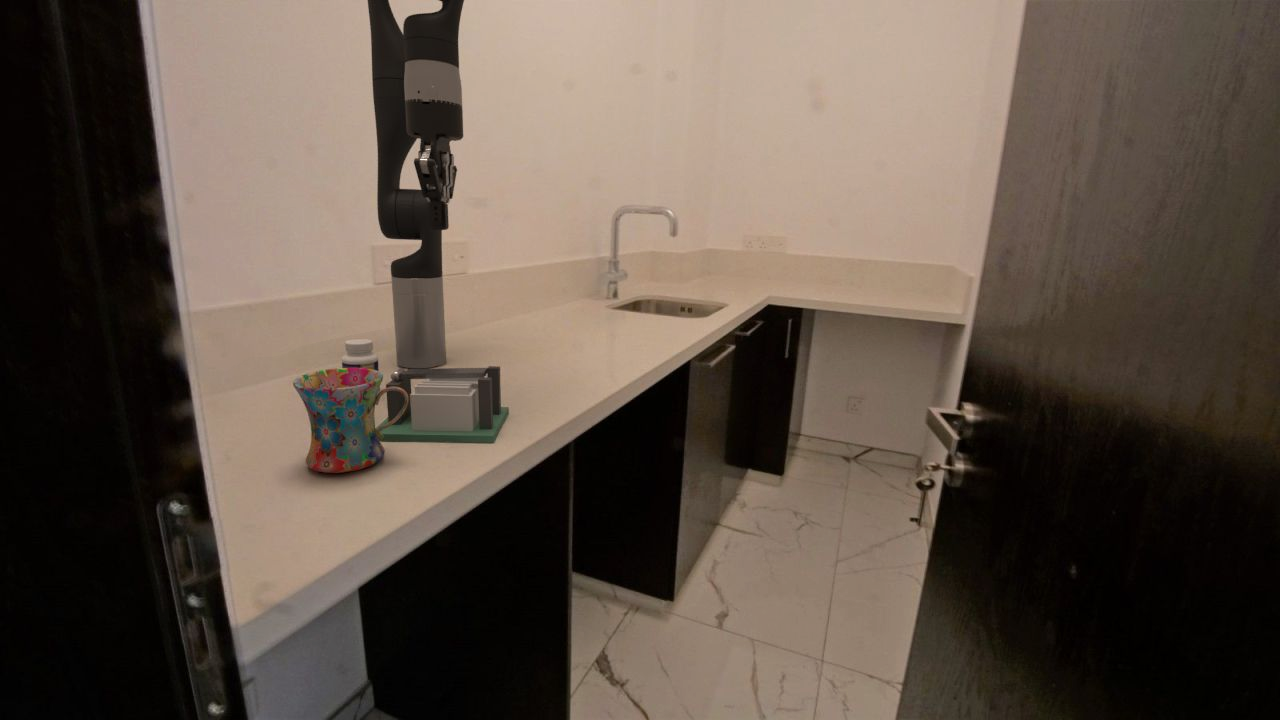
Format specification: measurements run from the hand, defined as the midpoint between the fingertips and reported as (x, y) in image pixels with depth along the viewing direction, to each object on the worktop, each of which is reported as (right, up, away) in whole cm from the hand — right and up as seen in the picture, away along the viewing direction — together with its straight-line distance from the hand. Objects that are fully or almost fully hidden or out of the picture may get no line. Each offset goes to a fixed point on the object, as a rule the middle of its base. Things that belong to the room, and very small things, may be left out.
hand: (439, 229), depth 85 cm
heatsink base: (+1, -28, -2) cm, 29 cm away
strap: (+1, -21, -4) cm, 22 cm away
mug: (-5, -31, -15) cm, 35 cm away
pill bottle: (-16, -25, +11) cm, 31 cm away
